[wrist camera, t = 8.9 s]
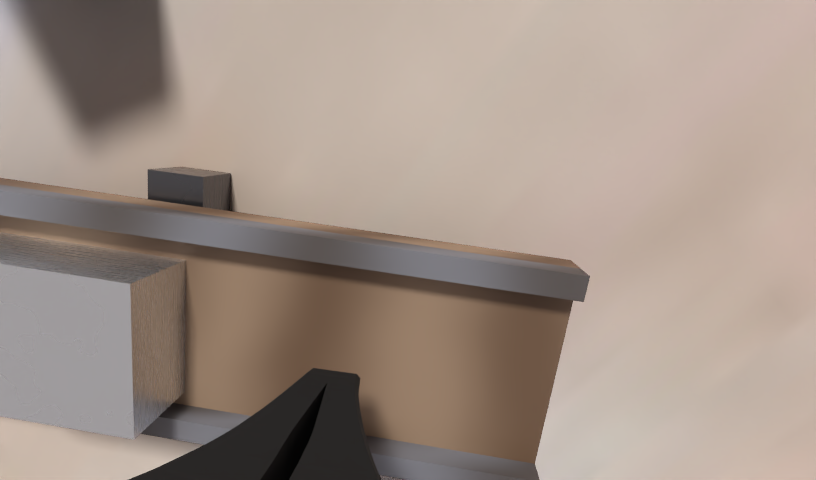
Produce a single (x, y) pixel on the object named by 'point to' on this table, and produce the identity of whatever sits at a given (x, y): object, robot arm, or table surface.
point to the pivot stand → (190, 187)
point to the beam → (343, 325)
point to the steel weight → (89, 335)
